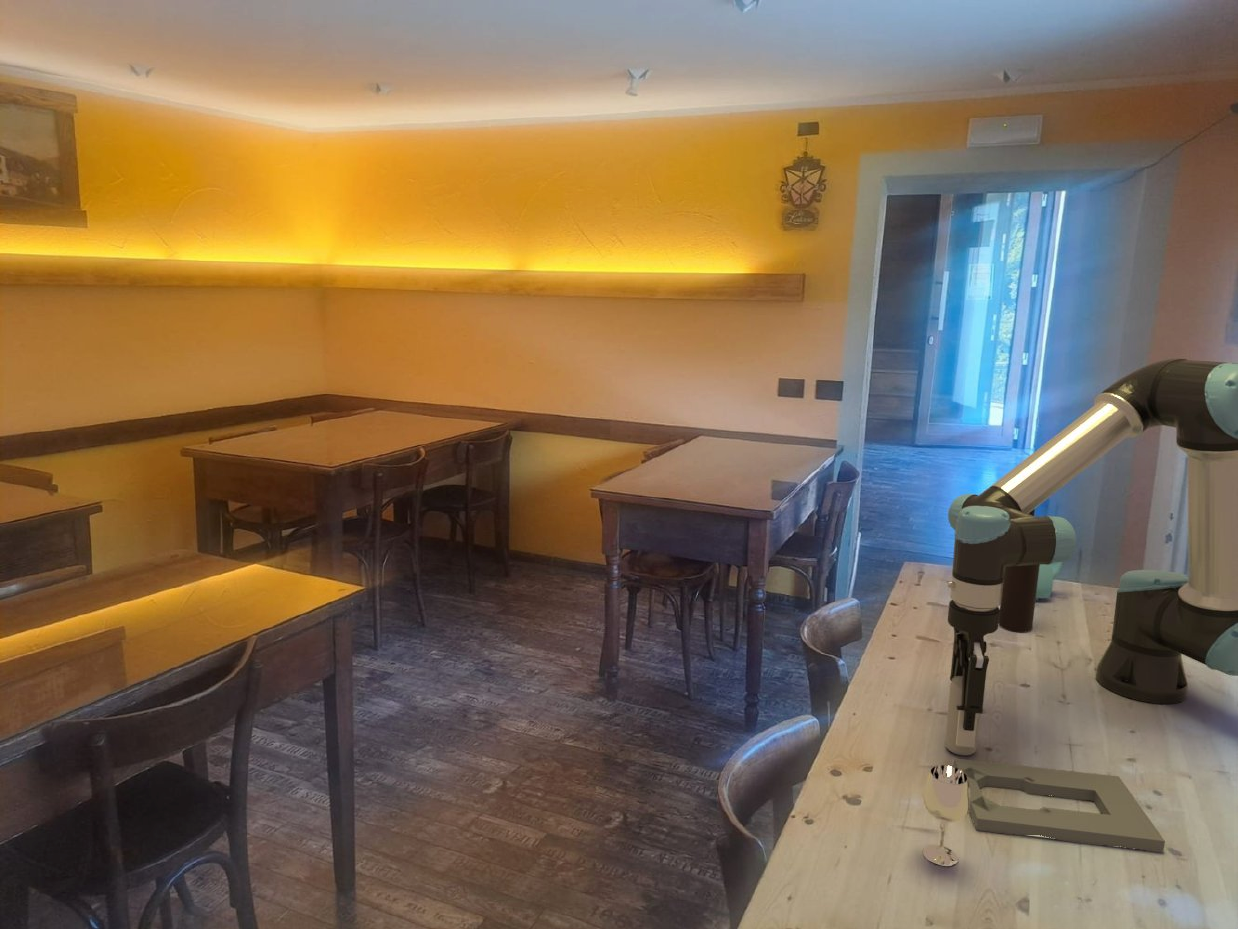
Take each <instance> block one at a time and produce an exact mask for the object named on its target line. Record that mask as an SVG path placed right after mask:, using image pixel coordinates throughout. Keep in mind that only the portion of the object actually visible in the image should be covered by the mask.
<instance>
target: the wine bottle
mask: <svg viewBox="0 0 1238 929" xmlns="http://www.w3.org/2000/svg"><path fill="white" fill-rule="evenodd" d="M1035 512H1036V508H1035V509H1034V510H1032V511H1031V512H1030V513H1028V514H1030V515H1032V516H1035ZM1039 567H1040V565H1025V566H1011V567H1005V571H1004V577H1003V589H1002V600H1001V605H1000V607H999V609H1000V615H999V624H998V626H1000V628H1002V629H1005V630H1006V631H1010V632H1016V633H1027V632H1030V631H1032V630H1033V624H1034V617H1035V615H1034V614H1035V607H1036V601H1035V600H1036V592H1037V584H1038V576H1039Z"/></svg>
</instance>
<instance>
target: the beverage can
mask: <svg viewBox="0 0 1238 929" xmlns="http://www.w3.org/2000/svg"><path fill="white" fill-rule="evenodd" d="M962 679H963V676H956V677H953V678H952V681H951V682H950V686H949V697H948V698H949V699H948V705H947V706H948V707H947V716H946V727H945V738H944V745H945V747H946V748H947V749H948V751H950V752H952V753H953V754H954V755H958V756H959V755H960V756H966V757H967V756H970V755H973V754H974V753H975V752H976V750H977V745H978V737H979V736H978V734H979V726H980V715H981V714H979V713H978V716H977V726H976V736H975V745H974V748H972V747H962V746H956V735H957V725H958V715H959V710H957V705H958V706H961V705H962Z"/></svg>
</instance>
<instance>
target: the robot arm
mask: <svg viewBox="0 0 1238 929" xmlns="http://www.w3.org/2000/svg"><path fill="white" fill-rule="evenodd" d="M1159 426H1166V427H1172V428H1175V429H1176V433H1175V434H1176V435H1175V436H1176V442H1175V444H1176V447H1178V448H1179V449H1180V450H1181V451H1183V452H1184V453H1185V454H1186V455H1187V554H1188V555H1187V563H1188V564H1187V567H1188V569H1187V570H1188V572H1187V574H1183V573H1180V572H1175V571H1167V570H1157V569H1156V570H1155V569H1136V570H1129V571H1126V572H1125V573H1123V574H1122V575H1121V576H1120V580H1119V584H1118V589H1117V590H1116V598H1115V599H1116V601H1115V608H1114V618H1113V623H1112V624H1113V626H1112V632H1111V640H1110V642H1109V644H1108V646H1107V647H1106V650H1105V651H1104V653H1103V655H1102V657H1101V659H1100V660H1099V662H1098V663H1097V665H1096V666H1097V667H1096V673H1095V679H1096V681H1097V682H1098V683H1099V684H1100V685H1101V686H1103V687H1104V688H1106V689H1107V690H1109V691H1110V692H1113V693H1115V694H1118V695H1120V696H1123V697H1126V698H1130V699H1132V700H1137V701H1140V702H1146V703H1152V704H1162V705H1165V704H1169V705H1170V704H1177V703H1181V702H1183V701H1184V700H1186V698H1187V695H1188V688H1189V685H1188V680H1187V676H1186V671H1185V667H1184V663H1183V657H1182V655H1183V656H1184V657H1185V656H1186V657H1187V658H1189V659H1192V660H1194V661H1196V662H1198V663H1201V664H1203V665H1205V666H1206V667H1207V668H1209V669H1211V670H1213V671H1219V672H1220V673H1222V674H1225V675H1228V676H1232V677H1234V676H1235V677H1237V676H1238V363H1237V362H1227V361H1226V362H1223V361H1209V360H1208V361H1207V360H1193V359H1186V358H1169V359H1163V360H1158V361H1155V362H1153V363H1150V364H1147V365H1144V366H1143V367H1140V368H1138V369H1136V370H1133V371H1132V372H1131V373H1128V374H1127V375H1124V377H1122V378H1120V379H1119V380H1117V381H1115V382H1114V383H1112V384H1111V385H1110V386H1108V387H1107V388H1106V389H1104V390H1103V391H1102V392H1100V393H1099V394H1098V395H1097V396H1095V398H1094V402H1093V406H1092V407H1091V408H1089V409H1088V410H1086V411H1085V412H1084V413H1083V414H1081V415H1080V416H1078V418H1076V419H1075V420H1074V421H1072V422H1071V423H1070V424H1069V425H1067V426H1066V427H1065V428H1064V429H1062V430H1061V431H1060V432H1058V433H1057V434H1056V435H1055V436H1053V437H1052V438H1050V439H1049V440H1048V441H1047V442H1045V444H1043V445H1041V447H1039V448H1038V449H1037V450H1036V451H1034V452H1032V453H1031V454H1030V455H1029V456H1027V457H1026V458H1025V459H1024V460H1022V462H1020V463H1019V464H1017V465H1016V466H1015V467H1014V468H1012V469H1011V470H1010V471H1009V472H1007V473H1006V474H1004V475H1003V476H1002V477H1001V478H1000V479H998V480H997V481H996V482H995V483H993V484H992V485H990V486H989V488H987V489H985V490H984V491H982V493H980V494H979V495H978V494H977V493H976V494H975V493H974V494H972V493H965V494H961V495H959V496H957V497H956V498H954V499H953V501H952V503H951V504H950V506H949V508H948V512H947V519H948V523H949V524H950V527H951V528H952V529H953V530H954V545H953V560H952V573H951V574H952V575H951V579H952V580H950V581H948V582H947V586H946V587H948V588H950V596H949V598H950V599H951V600H949V602H948V612H947V622H948V624H949V625H950V627H952V628H953V646H952V655H951V656H952V658H951V665H950V666H951V667H950V668H951V669H950V676H949V679H950V681H951V682H952V678H953V677H956V676H963V679H962V705H961V706H958V705H957V710H959V715H958V725H957V735H956V746H962V747H972V748H974V745H975V736H976V726H977V716H978V713H979V714H980V715H981V714H983V711H984V710H983V709H984V708H983V706H984V699H985V690H986V679H987V670H988V666H989V662H990V658H989V656H988V655H986V653H987V648H988V646H987V641H985V639H984V637H985V636H986V635H988V634H993V633H995V632H996V631H997V630H998V628H999V615H1000V607H999V606H1000V605H1001V600H1002V589H1003V577H1004V571H1005V567H1011V566H1025V565H1041V564H1045V565H1050V564H1052V565H1053V564H1054V563H1058V562H1063V563H1065V562H1066V561H1069V559H1071V558H1072V557H1073V555H1074V554H1075V553H1074V552H1076V549H1077V541H1078V540H1077V534H1076V531H1075V529H1074V527H1073V525H1072V524H1071V523H1070V522H1069V521H1068V520H1067V519H1066V518H1064V517H1061V516H1050V515H1044V516H1035V515H1034V516H1032V515H1030V514H1028V513H1030V512H1031V511H1032V510H1034V509H1035V510H1036V508H1037V507H1039V506H1040V505H1041V504H1043V503H1044V502H1045V501H1046V500H1048V499H1049V498H1050V497H1052V496H1053V495H1054V494H1056V492H1058V491H1059V490H1060V489H1062V488H1063V487H1065V485H1067V484H1069V482H1070V481H1072V480H1073V479H1075V478H1076V477H1077V476H1078V475H1080V474H1081V473H1082V472H1083V471H1085V470H1086V469H1088V468H1089V467H1090V466H1091V465H1092V464H1094V463H1095V462H1097V460H1099V459H1100V458H1102V457H1103V456H1104V455H1105V454H1107V453H1108V452H1109V451H1110V450H1111V449H1113V448H1114V447H1115V446H1117V445H1118V444H1119V443H1121V442H1122V441H1123V440H1124V439H1126V438H1137V437H1138V436H1140V435H1141V434H1142V433H1143V432H1145V431H1146V430H1149V429H1150V428H1154V427H1159Z"/></svg>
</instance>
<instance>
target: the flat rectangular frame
mask: <svg viewBox="0 0 1238 929" xmlns="http://www.w3.org/2000/svg"><path fill="white" fill-rule="evenodd" d="M953 767H955V768H957V769H960V770H961V771H963V772H964V773H965V774H966V775H967V777H968V781H969V787H970V807H969V811H970V812H969V811H968V812H969V814H970V813H971V815H970V817H972V818H971V820H972V819H973V820H972V822H973V821H974V823H973V825H974V824H975V826H974V828H976V829H977V830H976V829H975V830H976V831H979V832H980V831H982V832H990V833H997V834H998V833H999V834H1004V835H1005V834H1007V835H1013V834H1015V836H1021V835H1040V836H1041V835H1042V836H1044V837H1045V836H1046V837H1049V838H1050V837H1051V838H1055V839H1060V840H1059V841H1062V840H1063V842H1073V843H1079V844H1086V845H1094V844H1095V845H1096V846H1102V845H1109V846H1108V847H1111V846H1119V847H1120V846H1121V847H1126V848H1125V849H1127V848H1135V849H1140V850H1139V851H1143V850H1146V851H1145V852H1151V851H1153V853H1159V852H1162V853H1161V854H1164V850H1165V842H1166V841H1165V839H1164V838H1163V836H1162V835H1161V833H1160V832H1159V831H1158V829H1157V828H1156V826H1155V825H1154V824H1153V822H1152V821H1151V819H1150V818H1149V816H1148V815H1147V814H1146V812H1145V811H1144V810H1143V808H1142V807H1141V806H1140V804H1139V802H1138V801H1137V800H1136V799H1135V797H1134V796H1133V794H1132V793H1131V792H1130V790H1129V789H1128V787H1127V785H1126V784H1125V783H1124V781H1123V780H1122V779H1121V778H1120V776H1119V775H1109V774H1099V773H1090V772H1084V771H1083V772H1082V771H1081V772H1080V771H1073V770H1064V769H1054V768H1053V769H1052V768H1047V767H1035V766H1026V765H1019V764H1018V765H1017V764H1009V763H1000V762H999V763H997V762H992V761H990V762H989V761H982V760H981V761H980V760H973V759H972V760H971V759H964V758H963V759H962V758H956V757H955V758H954V759H953ZM985 787H992V788H994V787H995V788H1000V789H1001V788H1003V789H1012V790H1020V791H1023V792H1025V793H1026V792H1027V793H1026V794H1028V793H1029V795H1034V794H1036V795H1037V794H1038V795H1037V796H1043V795H1050V796H1049V797H1052V796H1057V797H1056V798H1061V797H1063V799H1071V800H1077V801H1078V800H1081V801H1087V800H1091V801H1090V802H1093V803H1094V802H1095V803H1094V804H1095V806H1096V807H1097V809H1098V808H1099V809H1098V811H1099V810H1100V811H1099V812H1100V813H1097V812H1096V813H1095V812H1088V811H1082V810H1081V811H1080V810H1071V809H1063V808H1054V807H1047V806H1046V807H1045V806H1042V807H1041V808H1039V809H1036V808H1035V809H1034V808H1033V809H1032V808H1025V807H1024V808H1023V807H1017V806H1008V805H1007V806H1006V805H1000V804H999V803H996V802H994V801H993V800H991V799H989V798H987V797H985V796H984V795H983V794H982V792H981V789H982V788H985ZM1051 795H1052V796H1051ZM1064 797H1065V798H1064ZM1092 800H1093V801H1092ZM1101 813H1102V814H1101ZM1017 834H1018V835H1017ZM1119 847H1118V848H1119ZM1135 849H1134V850H1135ZM1154 851H1155V852H1154Z"/></svg>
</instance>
